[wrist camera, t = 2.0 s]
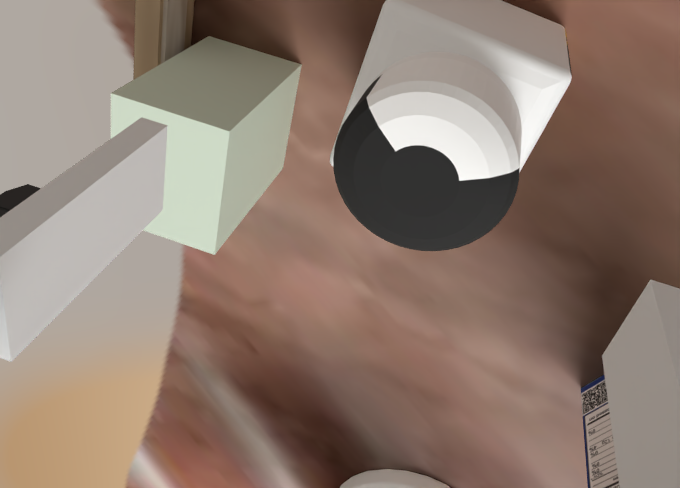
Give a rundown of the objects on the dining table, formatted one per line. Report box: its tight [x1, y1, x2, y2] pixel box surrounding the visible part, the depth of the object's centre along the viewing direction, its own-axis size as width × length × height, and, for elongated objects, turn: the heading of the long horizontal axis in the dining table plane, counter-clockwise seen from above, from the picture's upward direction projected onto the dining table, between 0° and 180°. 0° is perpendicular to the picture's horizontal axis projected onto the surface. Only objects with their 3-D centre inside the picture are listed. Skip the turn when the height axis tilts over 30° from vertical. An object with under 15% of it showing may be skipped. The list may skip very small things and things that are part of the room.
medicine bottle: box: [330, 0, 572, 251], centre depth 25 cm, size 7×7×12 cm
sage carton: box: [111, 36, 302, 255], centre depth 30 cm, size 5×6×9 cm
